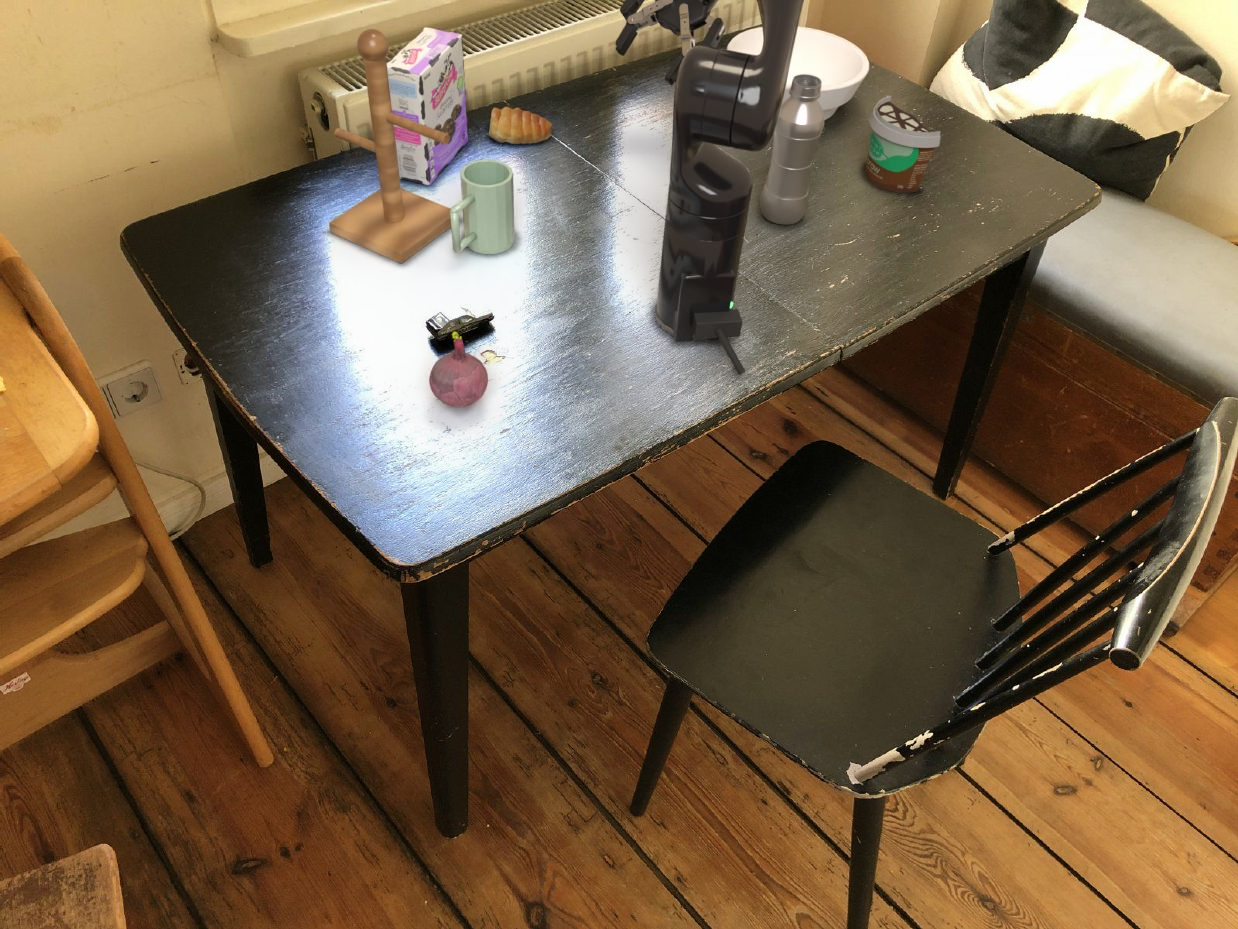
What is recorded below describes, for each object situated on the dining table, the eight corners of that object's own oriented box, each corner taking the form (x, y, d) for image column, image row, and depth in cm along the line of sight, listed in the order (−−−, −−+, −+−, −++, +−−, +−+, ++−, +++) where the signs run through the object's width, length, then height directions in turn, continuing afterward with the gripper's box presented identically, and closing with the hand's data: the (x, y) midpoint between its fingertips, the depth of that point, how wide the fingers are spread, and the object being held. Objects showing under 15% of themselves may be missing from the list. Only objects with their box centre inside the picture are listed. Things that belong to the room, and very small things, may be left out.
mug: (484, 220, 136) (481, 153, 129) (524, 236, 134) (522, 169, 127) (435, 258, 130) (429, 189, 123) (476, 275, 128) (472, 207, 121)
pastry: (552, 125, 155) (552, 102, 152) (550, 148, 150) (550, 124, 148) (491, 122, 155) (490, 99, 152) (487, 145, 150) (486, 121, 147)
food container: (840, 163, 152) (855, 100, 145) (872, 155, 154) (889, 93, 147) (890, 204, 145) (908, 141, 138) (923, 195, 147) (943, 132, 140)
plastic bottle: (802, 234, 138) (833, 95, 124) (754, 226, 139) (778, 88, 125) (806, 209, 143) (836, 72, 128) (759, 201, 143) (783, 65, 129)
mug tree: (483, 230, 135) (473, 35, 116) (426, 274, 127) (405, 74, 108) (378, 187, 141) (353, -5, 121) (318, 227, 133) (281, 29, 114)
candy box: (430, 187, 141) (420, 74, 129) (392, 178, 142) (378, 65, 130) (470, 141, 151) (464, 32, 139) (434, 133, 152) (425, 24, 140)
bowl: (785, 62, 175) (794, 13, 169) (886, 114, 164) (899, 64, 157) (691, 96, 164) (697, 45, 158) (791, 155, 153) (801, 103, 147)
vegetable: (498, 396, 113) (495, 326, 105) (471, 431, 109) (466, 361, 101) (451, 379, 114) (445, 309, 107) (422, 413, 110) (414, 343, 103)
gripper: (660, -76, 134) (594, 32, 137) (747, -28, 131) (678, 82, 134) (673, -49, 141) (610, 53, 144) (756, -2, 138) (690, 102, 141)
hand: (643, 67), depth 139 cm, fingers open, 8 cm apart
